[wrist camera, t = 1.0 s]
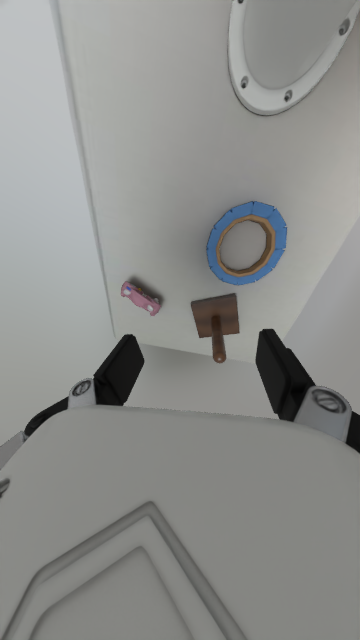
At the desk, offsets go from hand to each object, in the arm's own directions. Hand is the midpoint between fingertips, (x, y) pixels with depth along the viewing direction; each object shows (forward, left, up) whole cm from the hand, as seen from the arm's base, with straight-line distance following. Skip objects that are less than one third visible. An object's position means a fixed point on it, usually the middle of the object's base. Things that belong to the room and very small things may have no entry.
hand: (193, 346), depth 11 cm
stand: (+12, +1, -24) cm, 26 cm away
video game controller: (+3, -15, -24) cm, 28 cm away
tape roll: (-2, +8, -24) cm, 25 cm away
